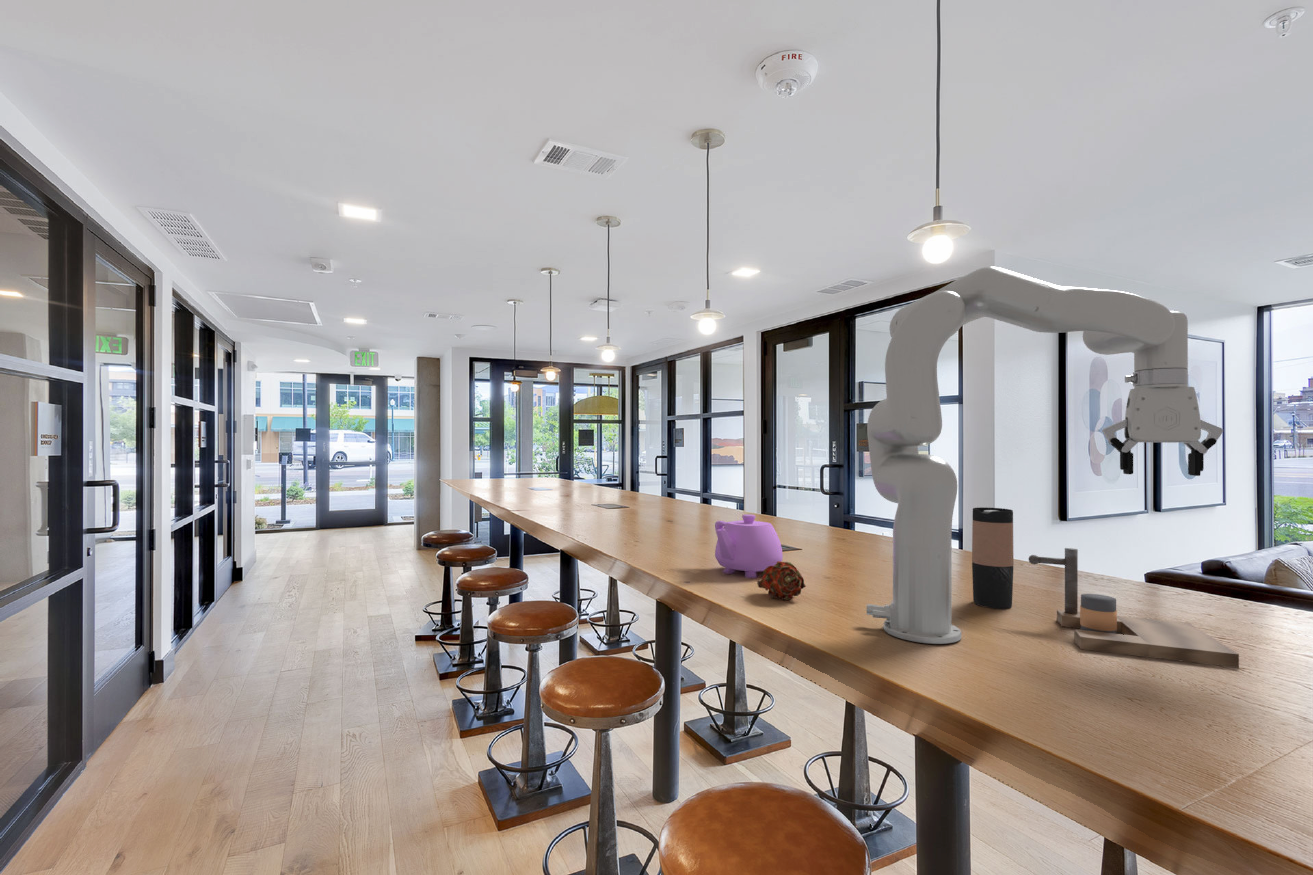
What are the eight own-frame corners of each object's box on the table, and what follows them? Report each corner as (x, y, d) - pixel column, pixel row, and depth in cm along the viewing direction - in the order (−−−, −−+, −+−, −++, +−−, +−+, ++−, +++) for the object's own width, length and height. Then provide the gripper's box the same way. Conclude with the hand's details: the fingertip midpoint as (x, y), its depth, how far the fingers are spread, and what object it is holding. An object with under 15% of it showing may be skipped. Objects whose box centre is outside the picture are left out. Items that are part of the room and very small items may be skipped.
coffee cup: (1076, 631, 109) (1076, 592, 109) (1111, 635, 107) (1111, 595, 107) (1084, 639, 104) (1084, 598, 104) (1121, 643, 102) (1121, 602, 102)
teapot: (684, 571, 157) (685, 514, 157) (734, 562, 171) (734, 509, 171) (744, 585, 143) (744, 521, 143) (793, 573, 156) (793, 515, 156)
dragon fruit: (799, 612, 125) (763, 607, 135) (821, 584, 129) (785, 581, 139) (777, 581, 124) (742, 578, 134) (800, 553, 128) (765, 553, 138)
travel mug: (1002, 600, 130) (1003, 507, 131) (1020, 609, 123) (1020, 511, 123) (965, 599, 131) (966, 507, 131) (981, 608, 124) (981, 510, 124)
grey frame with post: (1045, 644, 101) (1045, 561, 101) (1027, 616, 118) (1027, 545, 118) (1238, 667, 91) (1238, 574, 91) (1188, 633, 108) (1188, 555, 108)
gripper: (1109, 380, 110) (1109, 474, 110) (1231, 376, 103) (1232, 477, 103) (1097, 384, 117) (1097, 472, 117) (1211, 381, 110) (1212, 475, 110)
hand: (1160, 474), depth 110 cm, fingers open, 9 cm apart
